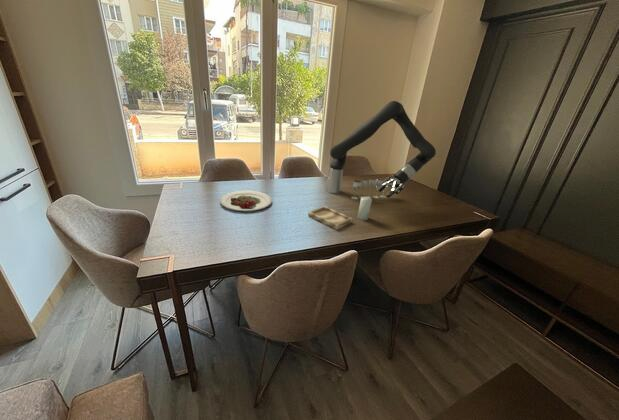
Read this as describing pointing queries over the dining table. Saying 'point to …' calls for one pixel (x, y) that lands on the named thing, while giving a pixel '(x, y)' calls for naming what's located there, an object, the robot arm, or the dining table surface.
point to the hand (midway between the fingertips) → (382, 193)
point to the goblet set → (371, 183)
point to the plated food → (246, 200)
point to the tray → (330, 217)
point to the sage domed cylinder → (364, 208)
